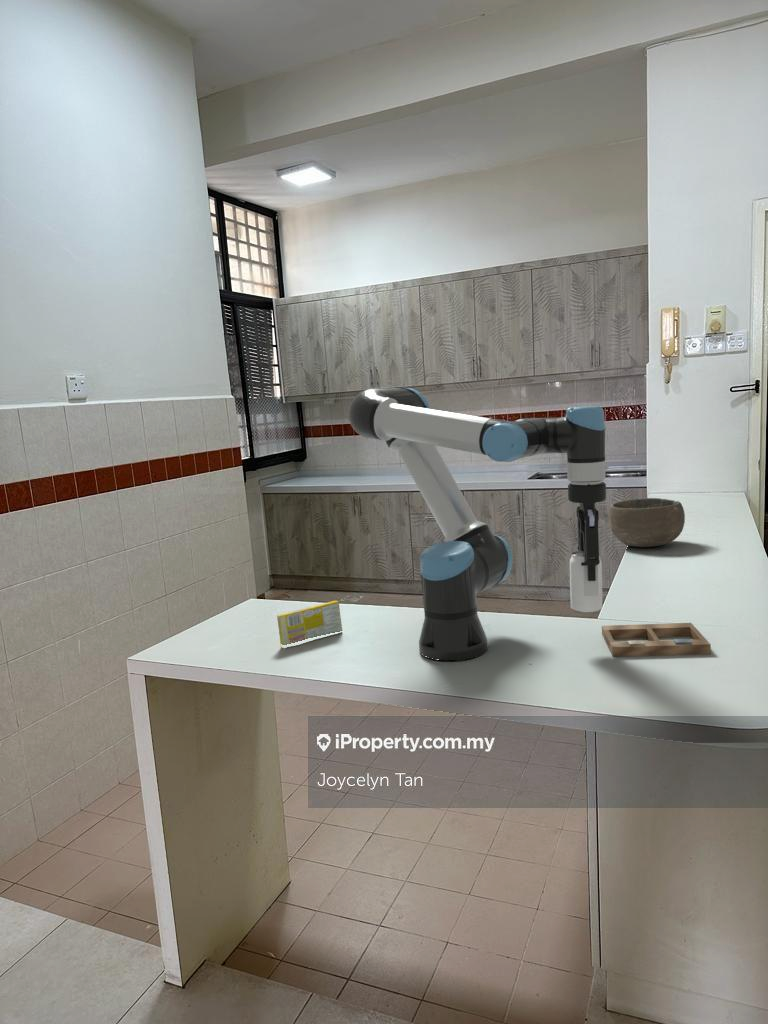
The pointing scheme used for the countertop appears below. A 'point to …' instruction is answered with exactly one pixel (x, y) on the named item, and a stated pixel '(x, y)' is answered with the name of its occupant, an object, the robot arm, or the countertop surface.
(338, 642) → the countertop surface
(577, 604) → the can
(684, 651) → the socket board
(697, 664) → the countertop surface
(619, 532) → the bowl
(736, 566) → the countertop surface
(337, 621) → the candy box
